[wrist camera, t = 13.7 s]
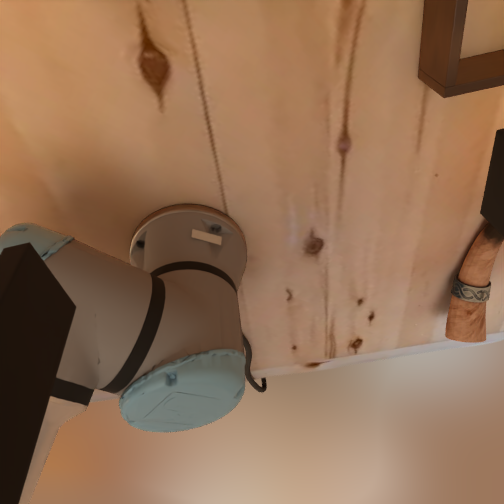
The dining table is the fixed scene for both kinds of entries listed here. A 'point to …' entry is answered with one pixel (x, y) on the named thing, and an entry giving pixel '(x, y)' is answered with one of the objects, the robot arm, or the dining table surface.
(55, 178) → the dining table surface
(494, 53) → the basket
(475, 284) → the curved blowing horn
